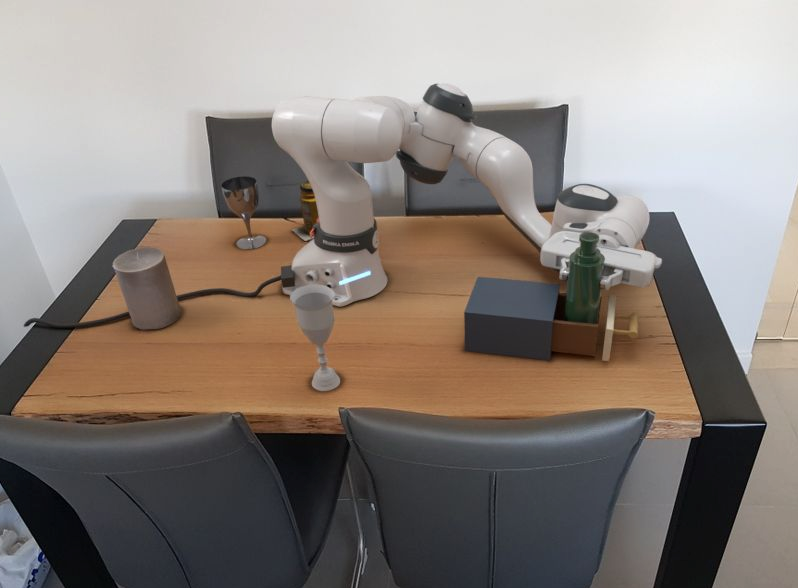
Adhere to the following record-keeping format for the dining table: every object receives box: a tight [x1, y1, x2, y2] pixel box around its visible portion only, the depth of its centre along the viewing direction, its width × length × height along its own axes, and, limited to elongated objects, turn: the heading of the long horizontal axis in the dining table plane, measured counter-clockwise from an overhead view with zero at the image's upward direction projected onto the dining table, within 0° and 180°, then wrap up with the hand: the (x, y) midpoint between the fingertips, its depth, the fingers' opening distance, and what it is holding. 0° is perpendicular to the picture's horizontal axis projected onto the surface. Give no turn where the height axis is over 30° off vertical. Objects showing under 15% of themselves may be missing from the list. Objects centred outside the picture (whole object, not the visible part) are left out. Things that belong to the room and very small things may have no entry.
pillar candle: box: [112, 246, 182, 331], centre depth 141 cm, size 10×10×15 cm
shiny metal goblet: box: [221, 175, 267, 250], centre depth 167 cm, size 8×8×15 cm
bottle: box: [564, 232, 605, 324], centre depth 124 cm, size 6×6×20 cm
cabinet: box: [463, 276, 561, 361], centre depth 132 cm, size 16×13×9 cm
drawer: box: [551, 292, 639, 362], centre depth 129 cm, size 19×11×7 cm, turn 75°
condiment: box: [291, 180, 319, 242], centre depth 171 cm, size 7×8×12 cm
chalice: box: [289, 285, 341, 392], centre depth 121 cm, size 7×7×18 cm
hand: (583, 281), depth 123 cm, fingers closed on bottle, 6 cm apart
